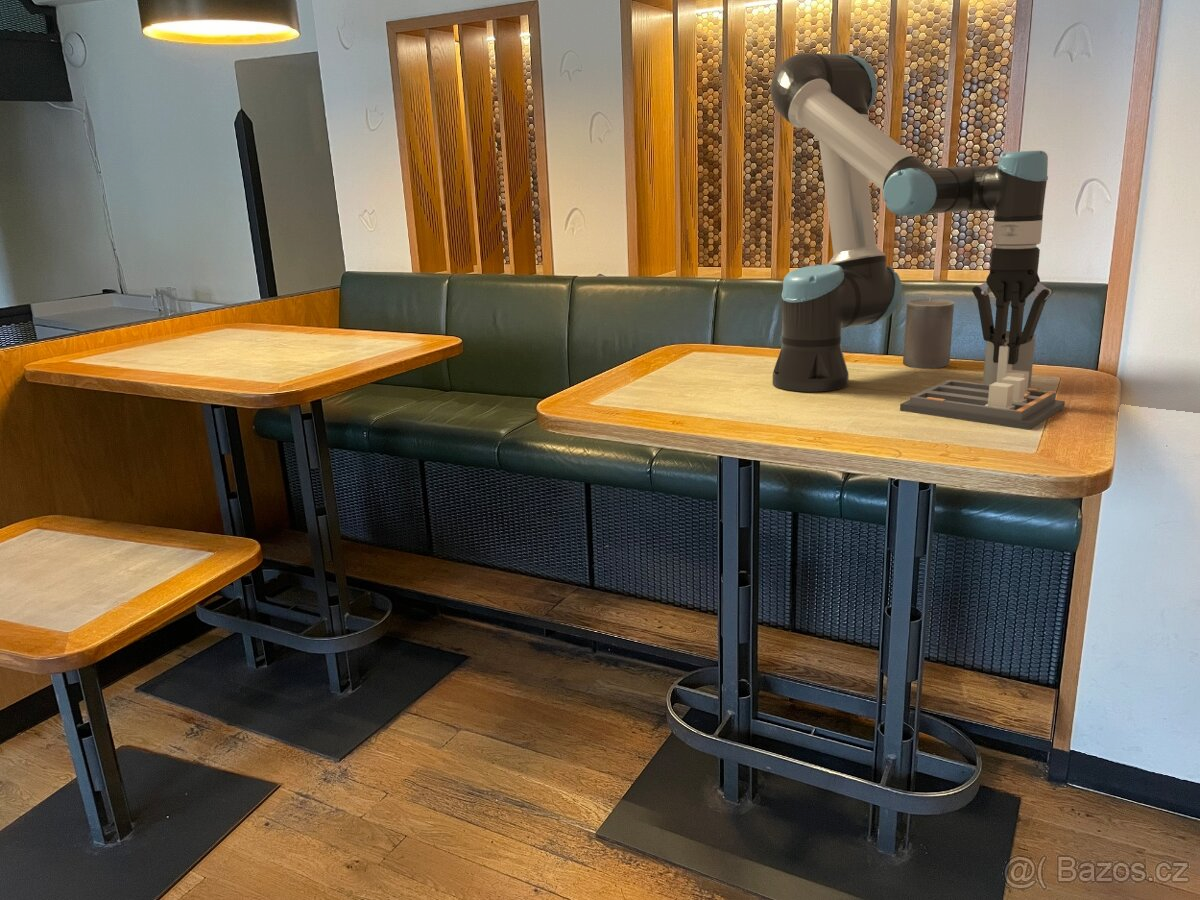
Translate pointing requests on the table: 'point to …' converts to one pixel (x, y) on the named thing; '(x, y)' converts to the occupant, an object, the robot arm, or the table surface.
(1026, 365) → the cup
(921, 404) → the slotted block puzzle
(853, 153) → the robot arm
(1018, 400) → the tab mid
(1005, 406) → the tab front
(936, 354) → the pillar candle
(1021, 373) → the tab back
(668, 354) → the table surface
